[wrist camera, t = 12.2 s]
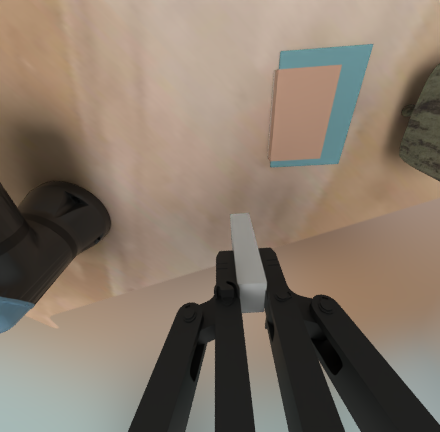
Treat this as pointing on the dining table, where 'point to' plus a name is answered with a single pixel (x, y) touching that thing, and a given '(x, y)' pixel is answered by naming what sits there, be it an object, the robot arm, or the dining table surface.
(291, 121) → the tile
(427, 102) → the tabletop clock
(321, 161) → the felt mat
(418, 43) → the dining table surface
